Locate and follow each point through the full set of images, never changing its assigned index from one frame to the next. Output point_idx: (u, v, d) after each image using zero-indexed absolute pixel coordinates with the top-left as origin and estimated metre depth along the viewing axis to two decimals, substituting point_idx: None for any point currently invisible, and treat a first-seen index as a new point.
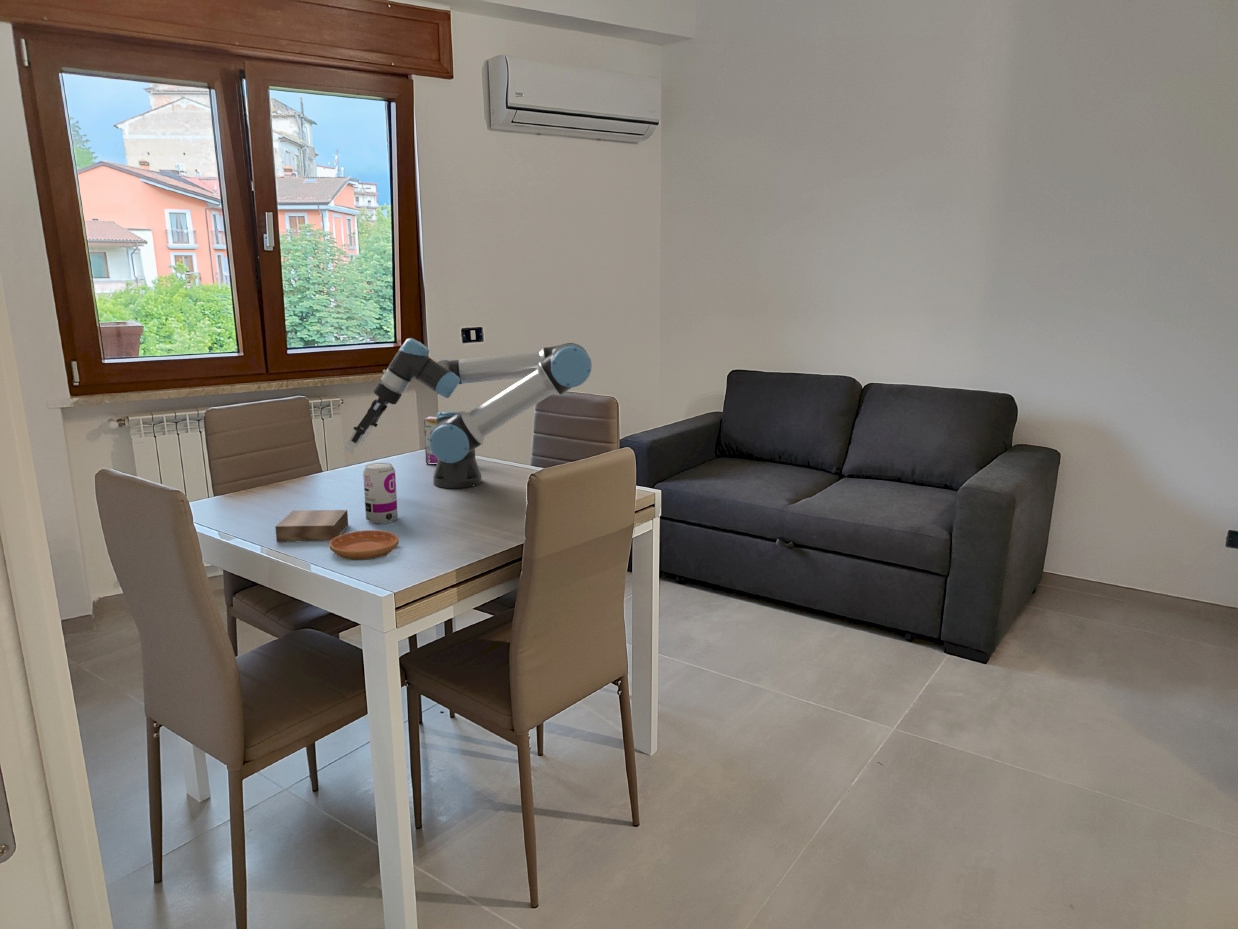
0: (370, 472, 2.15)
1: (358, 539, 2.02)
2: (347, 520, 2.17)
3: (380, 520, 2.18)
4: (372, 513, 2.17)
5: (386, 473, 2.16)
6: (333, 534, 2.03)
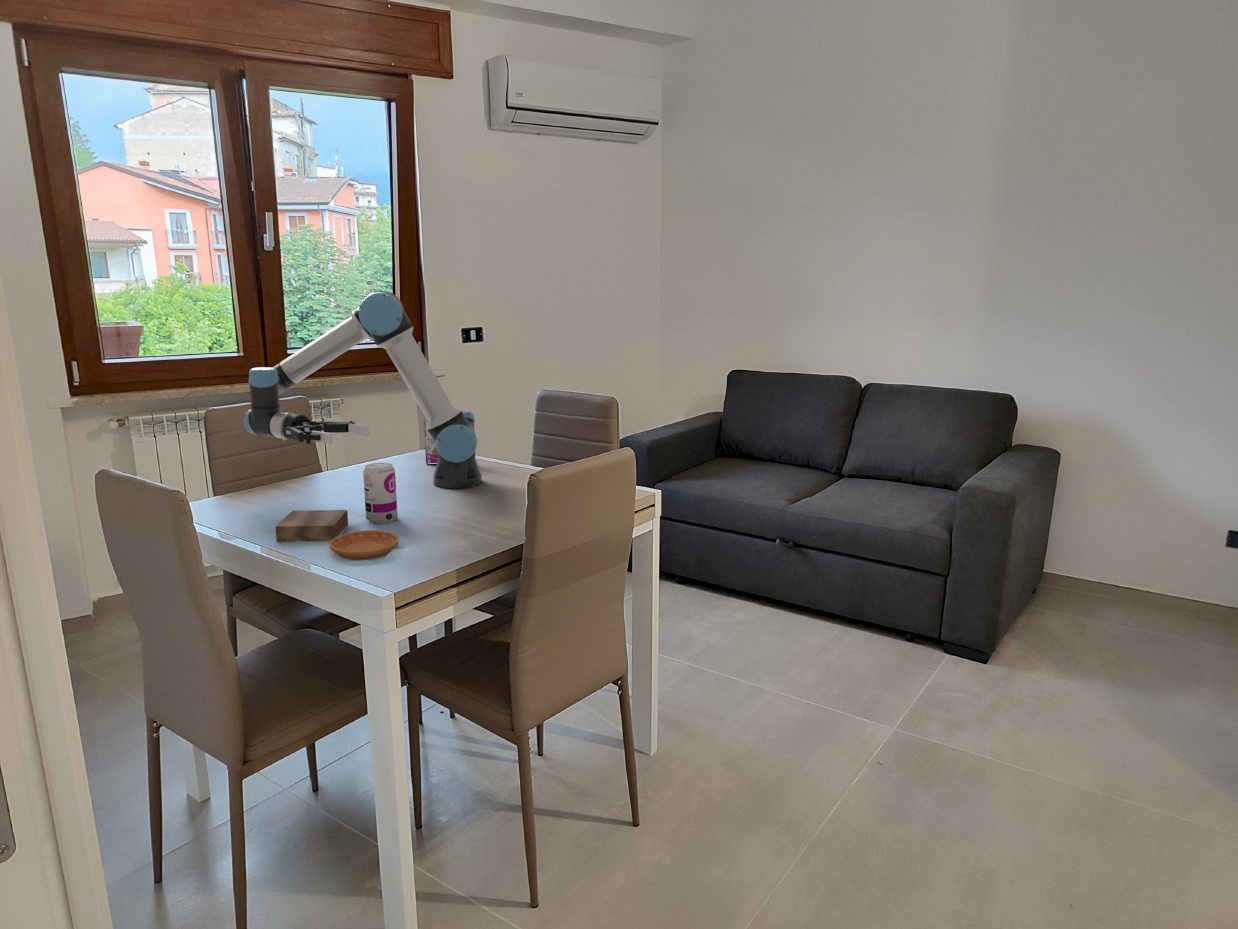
0: (370, 472, 2.15)
1: (358, 539, 2.02)
2: (347, 520, 2.17)
3: (380, 520, 2.18)
4: (372, 513, 2.17)
5: (386, 473, 2.16)
6: (333, 534, 2.03)
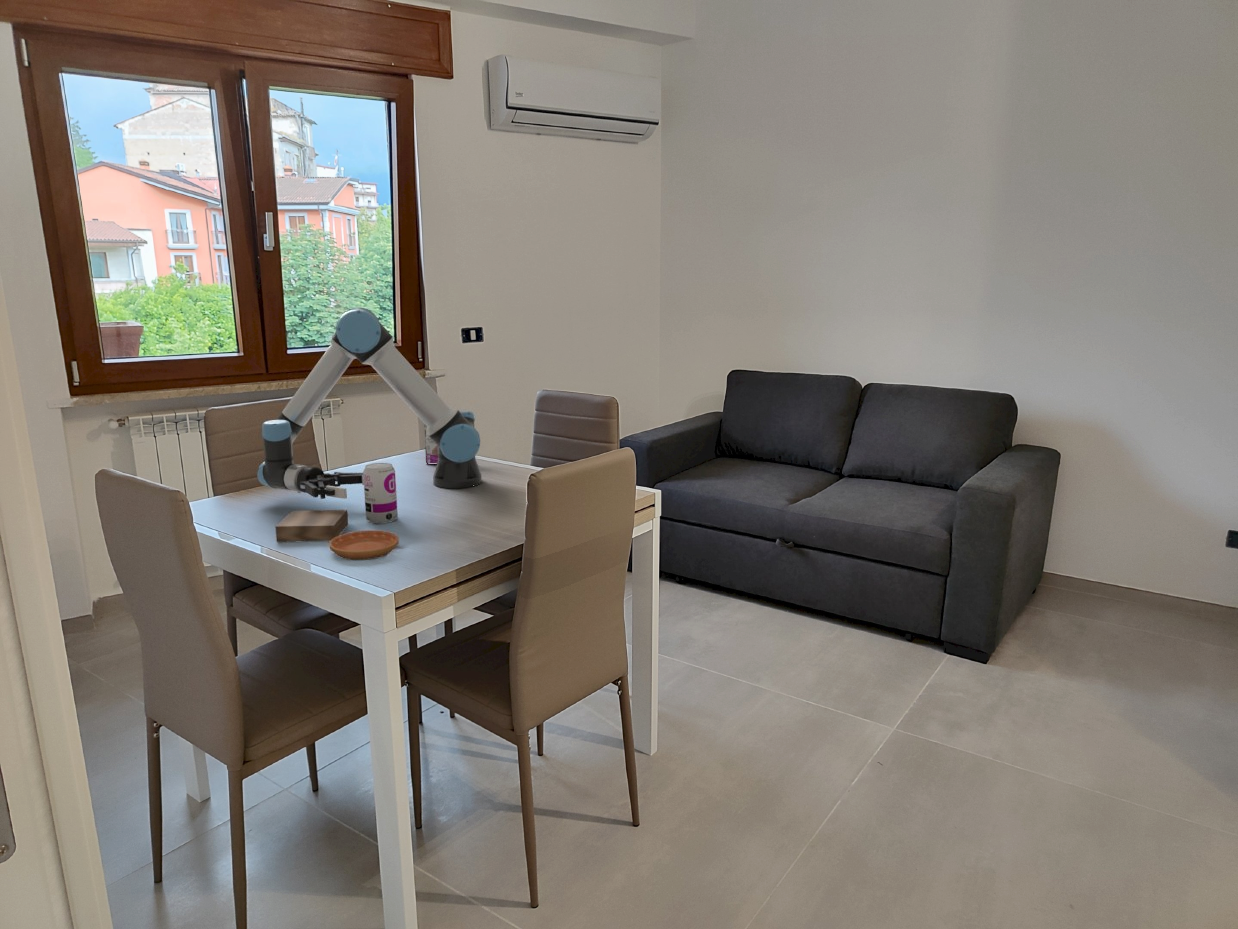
0: (370, 472, 2.15)
1: (358, 539, 2.02)
2: (347, 520, 2.17)
3: (380, 520, 2.18)
4: (372, 513, 2.17)
5: (386, 473, 2.16)
6: (333, 534, 2.03)
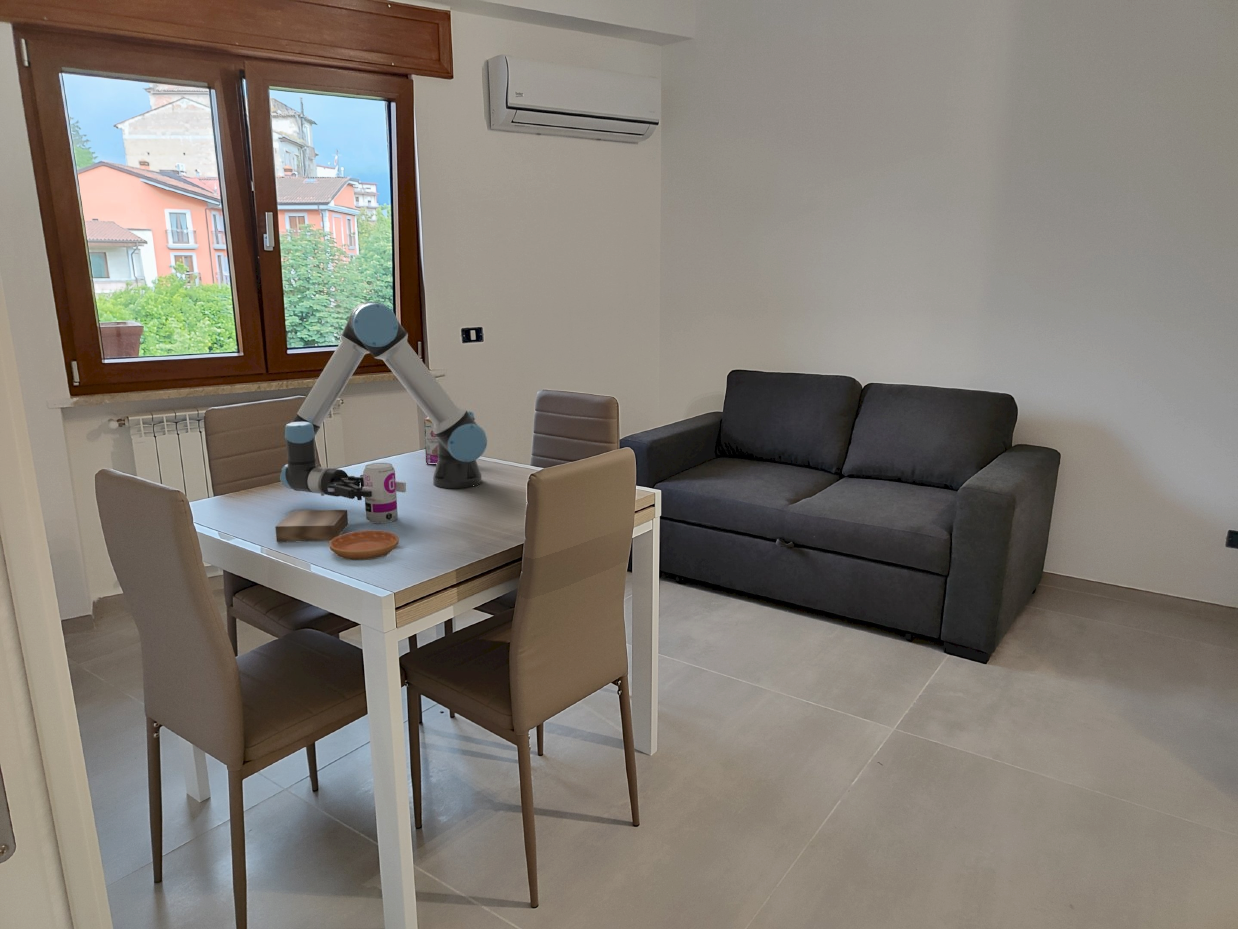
0: (370, 472, 2.15)
1: (358, 539, 2.02)
2: (347, 520, 2.17)
3: (380, 520, 2.18)
4: (372, 513, 2.17)
5: (386, 473, 2.16)
6: (333, 534, 2.03)
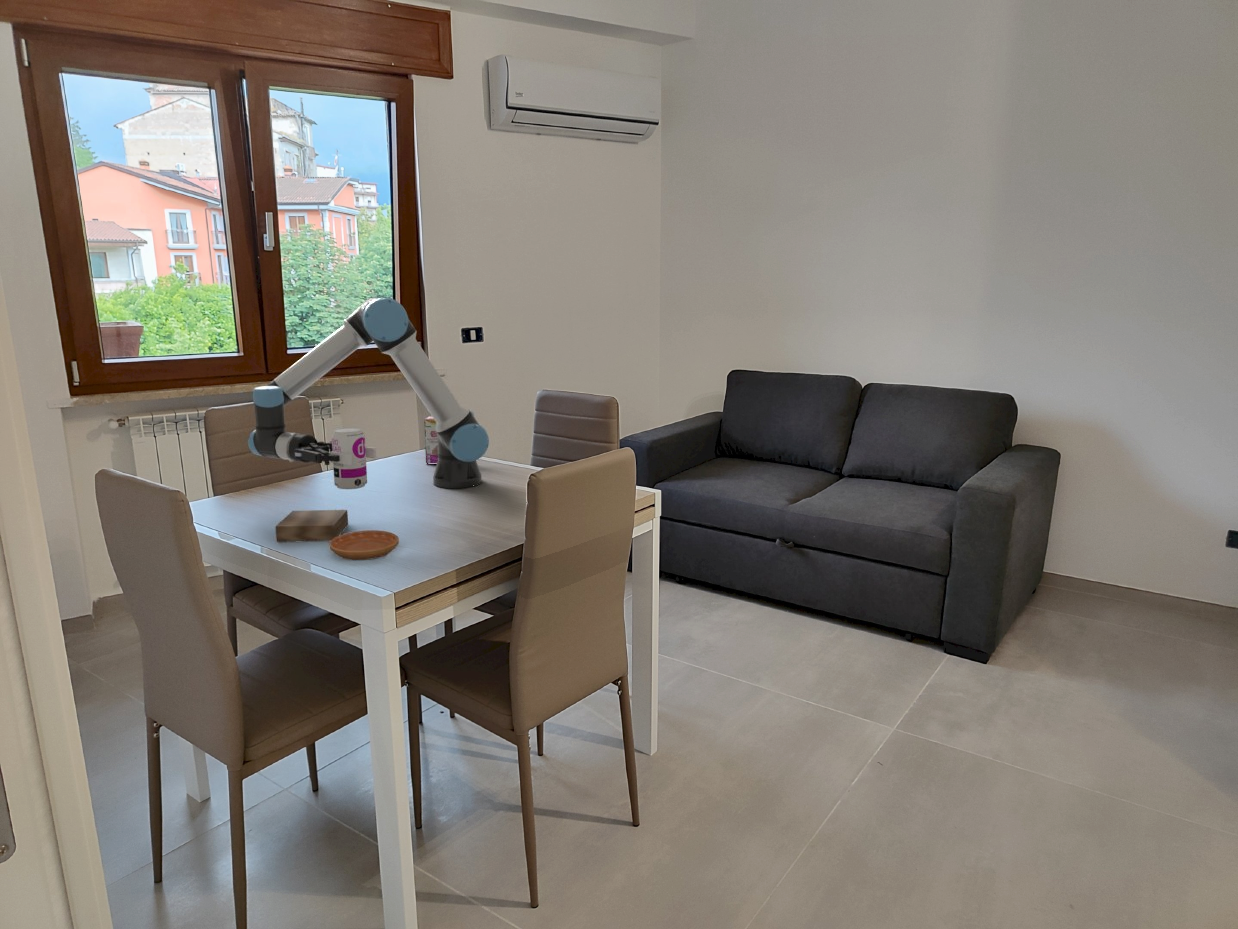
0: (338, 436, 2.08)
1: (358, 539, 2.02)
2: (347, 520, 2.17)
3: (348, 486, 2.11)
4: (340, 478, 2.11)
5: (354, 437, 2.09)
6: (333, 534, 2.03)
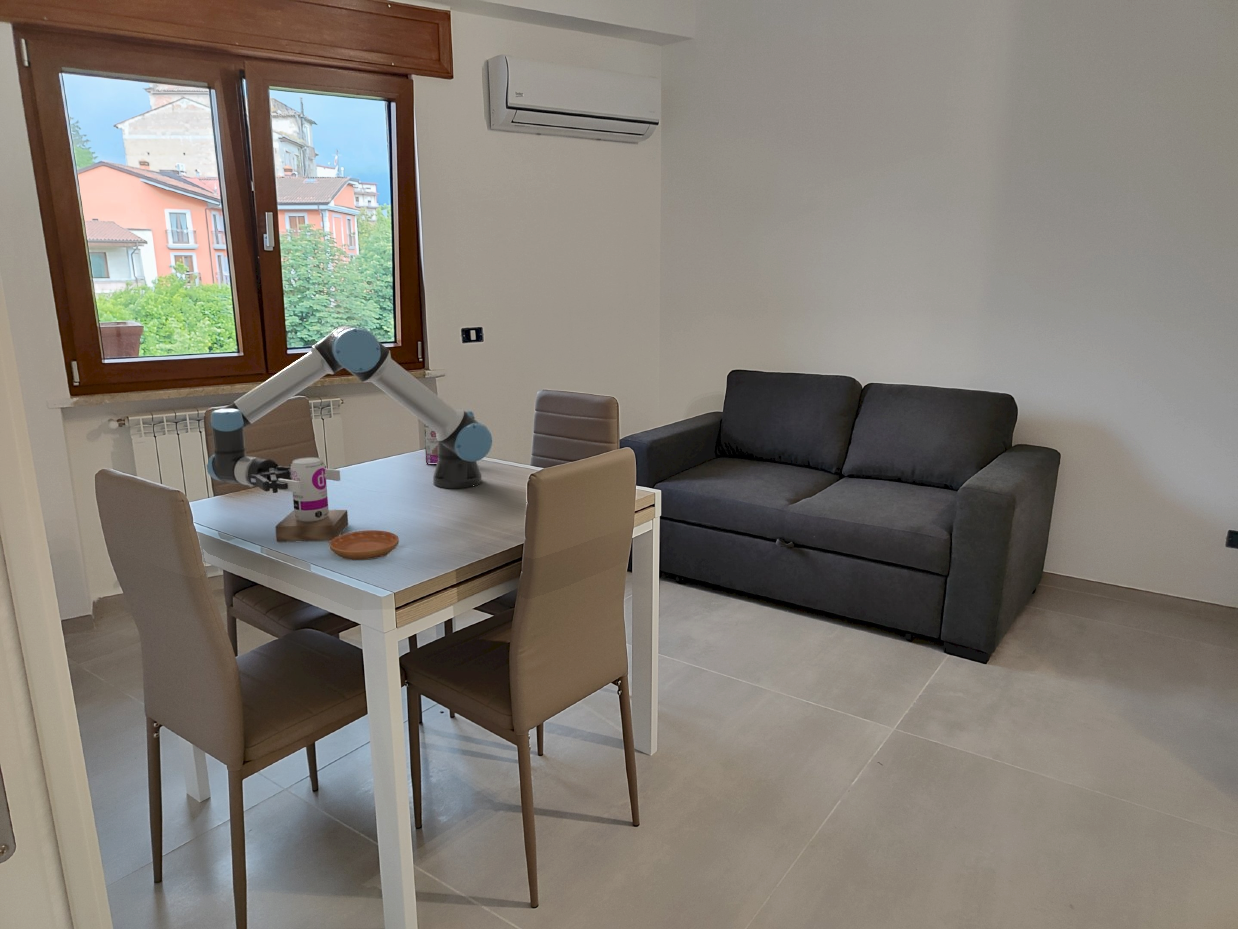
0: (297, 467, 2.02)
1: (358, 539, 2.02)
2: (347, 520, 2.17)
3: (309, 518, 2.05)
4: (300, 511, 2.04)
5: (314, 468, 2.03)
6: (333, 534, 2.03)
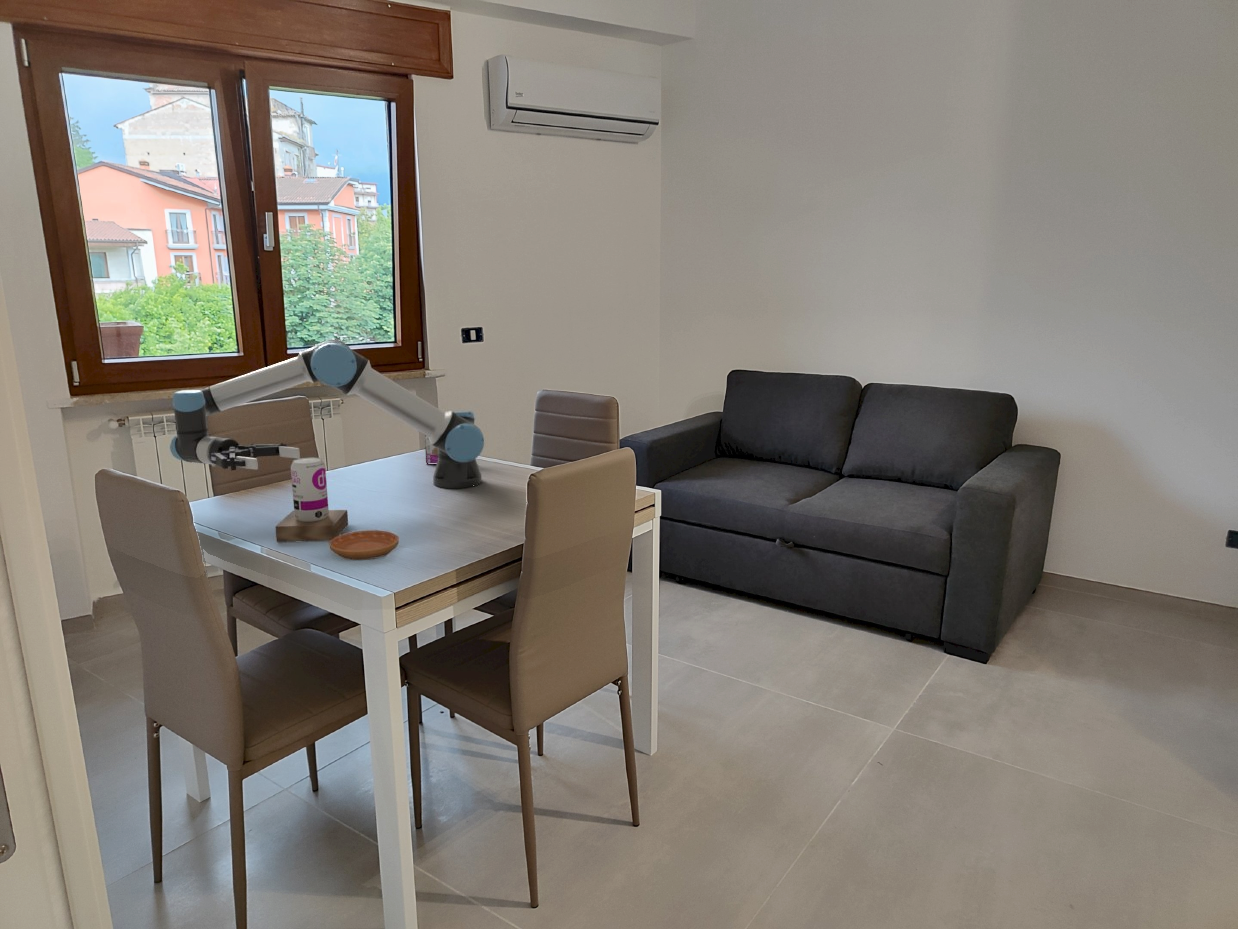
0: (297, 467, 2.02)
1: (357, 539, 2.02)
2: (347, 520, 2.17)
3: (309, 518, 2.05)
4: (300, 511, 2.04)
5: (314, 468, 2.03)
6: (333, 534, 2.03)
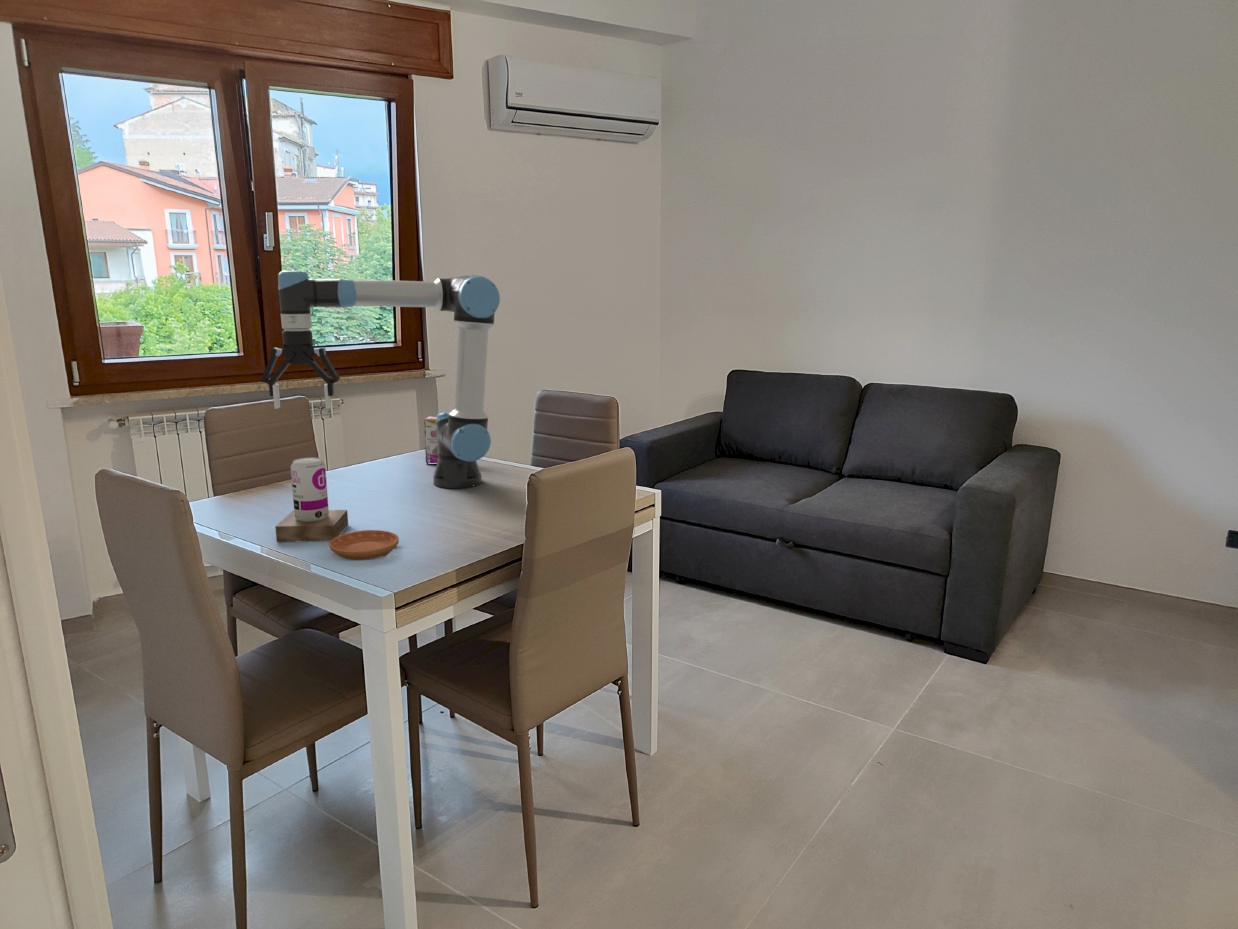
0: (297, 467, 2.02)
1: (357, 539, 2.02)
2: (347, 520, 2.17)
3: (309, 518, 2.05)
4: (300, 511, 2.04)
5: (314, 468, 2.03)
6: (333, 534, 2.03)
